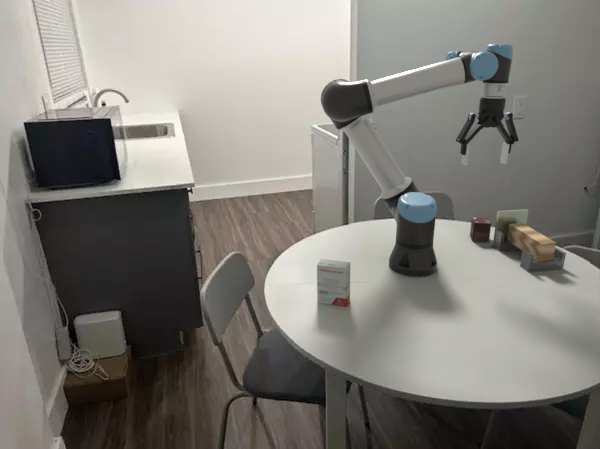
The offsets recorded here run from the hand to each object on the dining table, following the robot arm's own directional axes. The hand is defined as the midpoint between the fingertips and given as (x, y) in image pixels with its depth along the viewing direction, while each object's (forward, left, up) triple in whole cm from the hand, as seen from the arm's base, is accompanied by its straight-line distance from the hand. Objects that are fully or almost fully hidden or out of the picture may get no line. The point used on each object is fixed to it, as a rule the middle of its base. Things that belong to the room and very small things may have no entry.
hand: (483, 164), depth 153 cm
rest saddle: (+14, -17, -31) cm, 38 cm away
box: (+7, +9, -31) cm, 33 cm away
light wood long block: (+14, -10, -28) cm, 33 cm away
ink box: (-56, -26, -31) cm, 69 cm away
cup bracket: (+14, -1, -31) cm, 34 cm away
